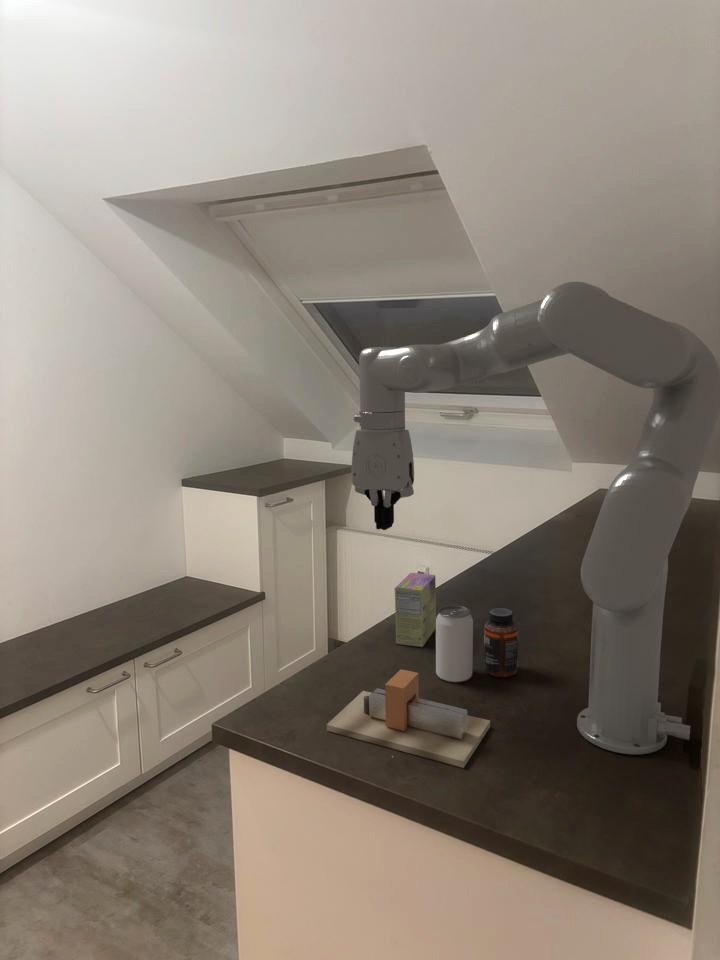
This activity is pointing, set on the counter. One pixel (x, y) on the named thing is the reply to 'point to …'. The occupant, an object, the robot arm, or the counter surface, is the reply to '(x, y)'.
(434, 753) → the tongs board
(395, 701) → the orange notched block
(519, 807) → the counter surface
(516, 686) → the counter surface
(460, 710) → the bar
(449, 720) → the jaw
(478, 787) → the counter surface
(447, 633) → the can
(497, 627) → the supplement bottle
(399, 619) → the box
